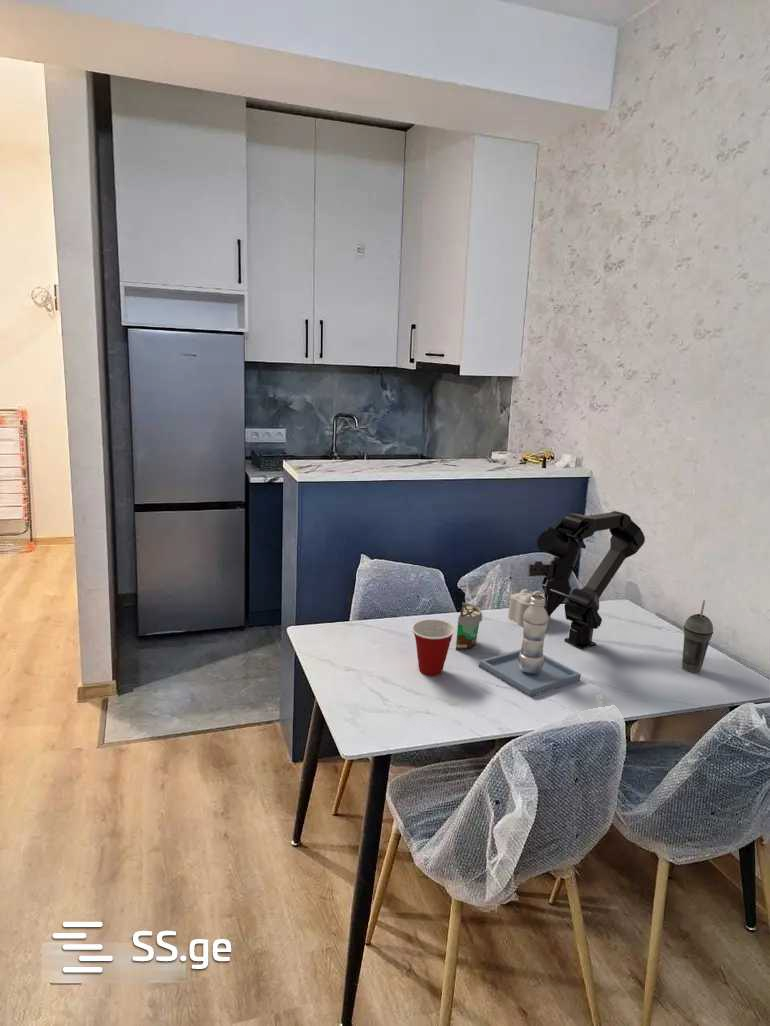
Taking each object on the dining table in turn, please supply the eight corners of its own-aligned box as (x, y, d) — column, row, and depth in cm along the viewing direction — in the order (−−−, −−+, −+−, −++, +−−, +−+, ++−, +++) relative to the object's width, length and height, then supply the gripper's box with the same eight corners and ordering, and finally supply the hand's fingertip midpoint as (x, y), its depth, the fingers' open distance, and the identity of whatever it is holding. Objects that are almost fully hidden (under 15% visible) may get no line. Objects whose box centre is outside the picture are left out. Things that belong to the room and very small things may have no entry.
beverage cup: (704, 666, 189) (717, 597, 184) (707, 678, 182) (720, 606, 177) (675, 661, 191) (687, 592, 186) (677, 672, 184) (689, 601, 180)
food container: (477, 655, 187) (481, 620, 185) (455, 651, 188) (458, 617, 186) (481, 637, 199) (484, 604, 196) (459, 634, 200) (462, 601, 198)
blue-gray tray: (527, 653, 190) (528, 647, 190) (579, 680, 176) (580, 674, 175) (478, 666, 180) (479, 660, 180) (529, 697, 166) (530, 690, 165)
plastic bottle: (517, 675, 175) (526, 600, 170) (516, 664, 182) (524, 591, 177) (543, 678, 174) (553, 603, 170) (541, 666, 181) (550, 594, 176)
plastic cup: (399, 667, 177) (402, 623, 174) (431, 658, 183) (435, 615, 180) (427, 685, 168) (431, 638, 166) (460, 674, 175) (464, 630, 172)
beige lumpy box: (503, 616, 217) (506, 589, 215) (537, 611, 222) (540, 585, 220) (524, 628, 208) (527, 601, 206) (558, 623, 213) (561, 596, 211)
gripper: (534, 549, 197) (515, 601, 197) (537, 549, 178) (517, 607, 179) (572, 562, 195) (553, 615, 195) (580, 564, 177) (559, 622, 177)
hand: (545, 614), depth 187 cm, fingers open, 9 cm apart
